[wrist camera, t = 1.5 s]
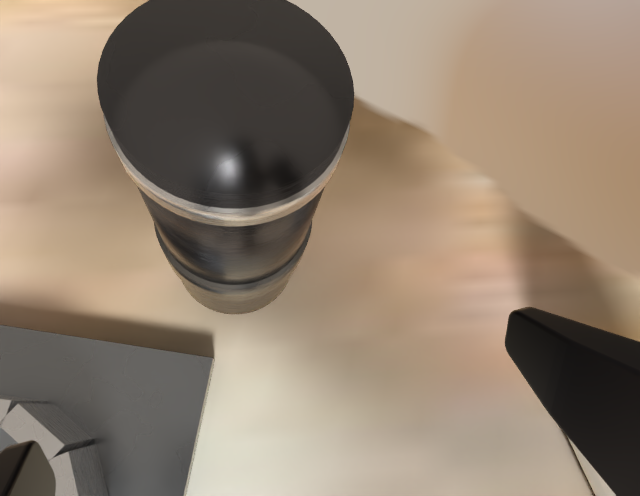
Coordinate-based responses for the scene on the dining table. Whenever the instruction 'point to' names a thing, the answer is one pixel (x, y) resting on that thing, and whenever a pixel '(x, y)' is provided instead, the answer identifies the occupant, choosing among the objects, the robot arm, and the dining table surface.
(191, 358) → the lens mount
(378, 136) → the dining table surface
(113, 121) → the lens
